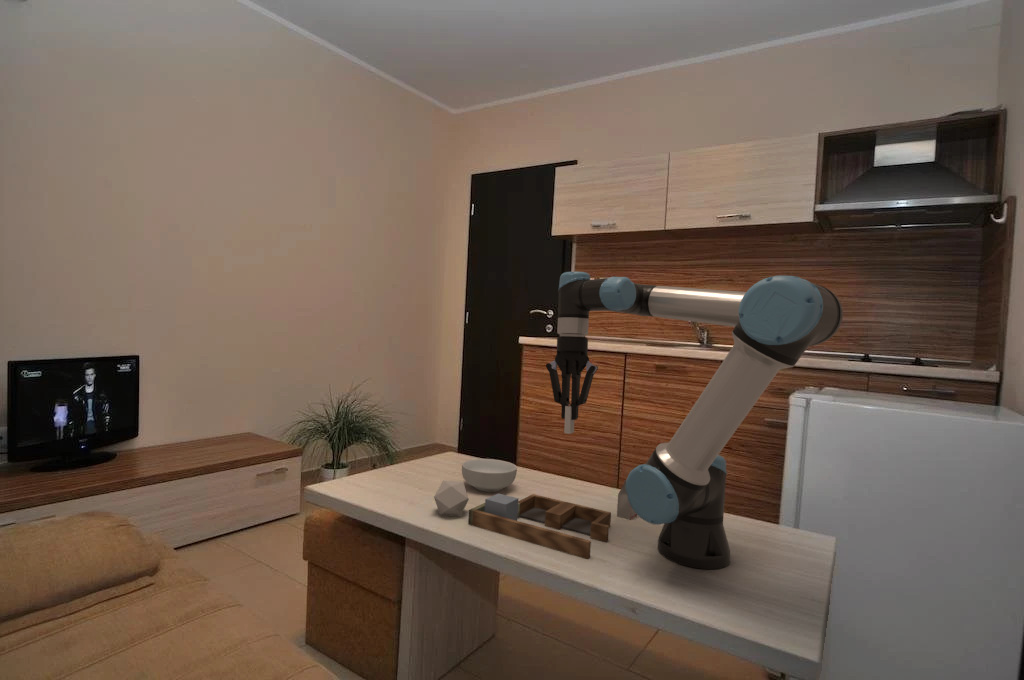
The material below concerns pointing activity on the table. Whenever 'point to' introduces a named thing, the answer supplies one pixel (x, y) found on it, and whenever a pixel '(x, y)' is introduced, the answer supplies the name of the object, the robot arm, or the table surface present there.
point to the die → (451, 498)
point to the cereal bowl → (488, 474)
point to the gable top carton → (624, 505)
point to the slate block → (502, 506)
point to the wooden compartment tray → (549, 524)
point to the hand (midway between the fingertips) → (569, 432)
